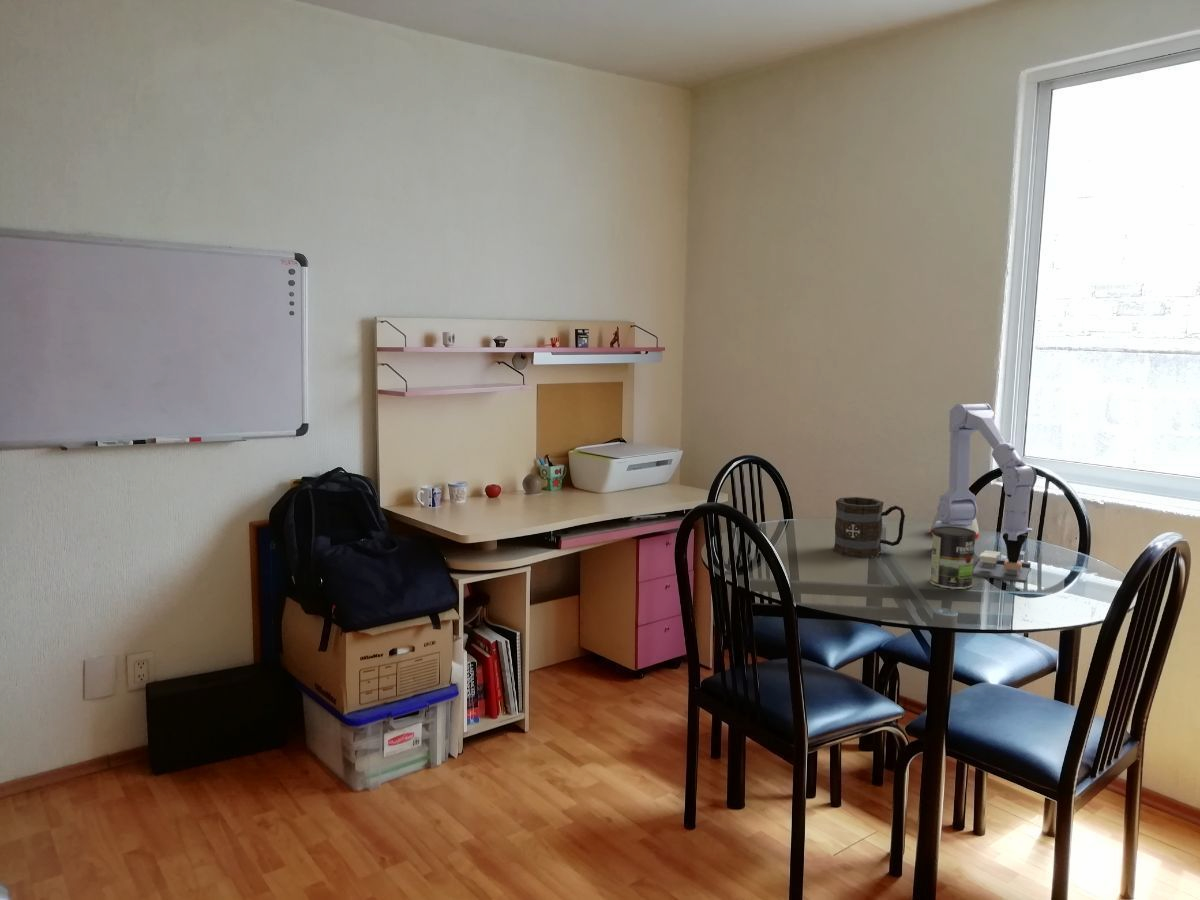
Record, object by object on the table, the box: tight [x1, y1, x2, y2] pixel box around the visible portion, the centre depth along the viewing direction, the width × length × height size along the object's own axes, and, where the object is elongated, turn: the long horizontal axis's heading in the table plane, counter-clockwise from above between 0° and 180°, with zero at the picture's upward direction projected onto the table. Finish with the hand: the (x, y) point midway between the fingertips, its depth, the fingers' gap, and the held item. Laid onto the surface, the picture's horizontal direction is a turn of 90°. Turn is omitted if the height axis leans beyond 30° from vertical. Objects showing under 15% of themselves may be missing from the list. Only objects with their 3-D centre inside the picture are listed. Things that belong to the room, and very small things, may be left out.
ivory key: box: [978, 552, 998, 568], centre depth 241 cm, size 4×4×3 cm
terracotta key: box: [1004, 558, 1023, 575], centre depth 239 cm, size 4×4×3 cm
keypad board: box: [973, 555, 1031, 583], centre depth 243 cm, size 13×15×2 cm
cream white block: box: [983, 550, 1001, 566], centre depth 248 cm, size 4×4×3 cm
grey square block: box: [1006, 550, 1026, 562], centre depth 244 cm, size 4×4×3 cm
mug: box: [833, 496, 906, 559], centre depth 262 cm, size 20×14×15 cm
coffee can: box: [929, 526, 976, 590], centre depth 231 cm, size 10×10×14 cm
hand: (1013, 561), depth 238 cm, fingers closed
